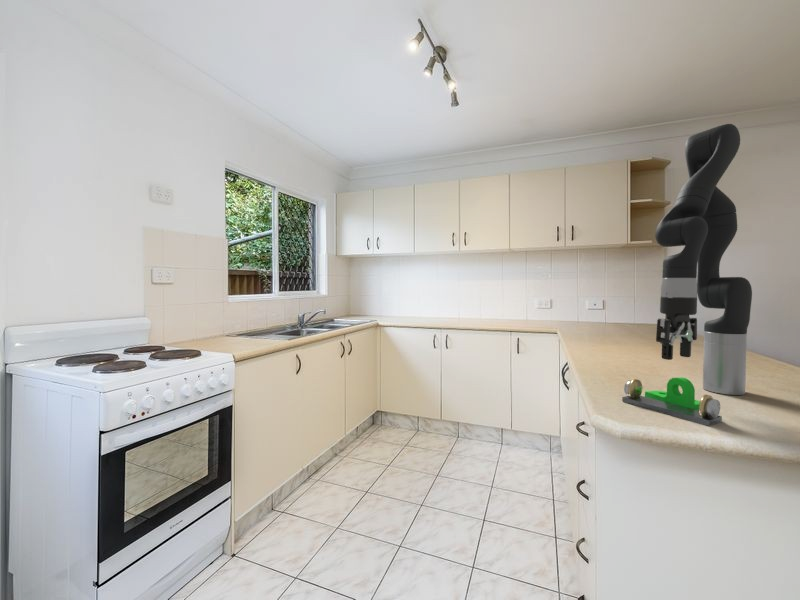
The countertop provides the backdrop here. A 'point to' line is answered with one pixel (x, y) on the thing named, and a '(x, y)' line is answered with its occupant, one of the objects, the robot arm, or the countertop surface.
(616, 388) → the countertop surface
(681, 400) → the mechanical part
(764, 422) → the countertop surface
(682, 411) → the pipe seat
